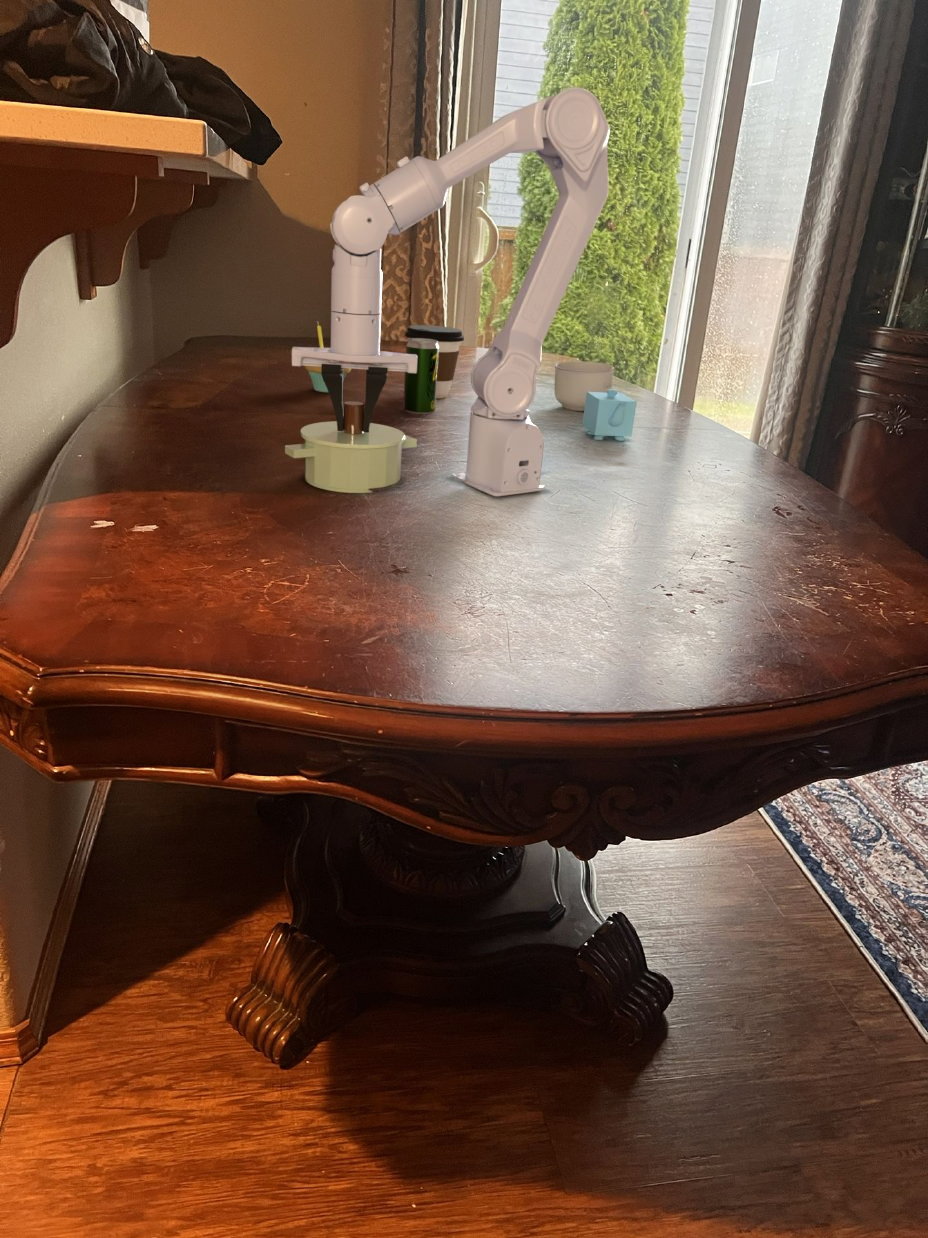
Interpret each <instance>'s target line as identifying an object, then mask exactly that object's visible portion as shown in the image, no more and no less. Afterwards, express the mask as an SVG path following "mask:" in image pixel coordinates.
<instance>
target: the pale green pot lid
mask: <svg viewBox="0 0 928 1238" xmlns="http://www.w3.org/2000/svg"><path fill="white" fill-rule="evenodd" d="M364 409H365V403H363V402H361V401H356V400H355V401H353V400H350V401H349V400H348V401H345V402H344V401H343V415H344V417H343V421H344V423H343V431H337V421H336V420H334V421H332V420H331V421H320V422H315V423H310V424H306V425H305V426H302V427H301V428H300V437H301V438H303V439H305V440H307V441H310V442H313V443H316V444H320V445H325V446H331V447H338V448H351V449H375V448H386V447H392V446H396V445H399V444H401V443H403V442H404V441H405V435H406V434H405V433H404V431H402V430H400V429H398V428H395V427H392V426H389V425H385V424H379V423H373V422H370V426H369V433H366V432H363V420H364Z"/></svg>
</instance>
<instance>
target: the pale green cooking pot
mask: <svg viewBox="0 0 928 1238" xmlns="http://www.w3.org/2000/svg"><path fill="white" fill-rule="evenodd" d="M303 439H304V438H303ZM417 443H418V440H417V439H416V438H415V437H412V436H410V435H406V434H405V441H404V442H403V443H401V444H399V445H396V446H392V447H386V448H375V449H351V448H338V447H331V446H325V445H320V444H316V443H313V442H310V441H307V440H305V439H304V442H303V443H297V444H286V445H284V454H285V455H287V456H289V457H290V458H293V459H302V458H303V459H304V465H303V467H304V469H303V471H304V481H305V482H306V483H307V484H309V485H311V486H313V487H315V488H318V489H322V490H326V491H330V492H336V493H337V492H338V493H346V494H347V493H348V494H370V493H371V494H372V493H373V490H371V489H378V488H386V487H388V486H391V485H395V484H397V483H398V482H399V481H400V480H401V474H402V473H401V472H402V451H403V450H402V449H412V448H417Z"/></svg>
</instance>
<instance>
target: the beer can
mask: <svg viewBox="0 0 928 1238" xmlns="http://www.w3.org/2000/svg"><path fill="white" fill-rule="evenodd" d="M437 343H438V341H437V340H433V339H425V338H407V343H406V345H405V354H416V355H417V357H418V358H417V373H408V372H404V385H403V406H402V407H403V411H404V412H407V413H410V414H411V413H412V414H420V415H427V414H428V415H429V414H434V413H435V412H436V402H437V398H436V386H437V369H438V352H439V347H438V344H437Z"/></svg>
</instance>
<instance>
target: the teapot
mask: <svg viewBox="0 0 928 1238" xmlns="http://www.w3.org/2000/svg"><path fill="white" fill-rule="evenodd" d="M637 403H638V402H637V401H636V400H634V399H633V398H631V397H630V396H628V395H626V394H625V393H621V392H618V390H617V389H614V388H612V389H607V393H604V392H587V394H586V401H585V409H584V411H583V418H582V427H583V428H585V429H586V430H587V432H586V434H587V435H592V436H594V437H593V440H597V441H603V440H604V436H606V437H608V436H609V437H614V439H615V440H616V441H619V442H623V441H625V438H624V437H630V438H631V437H632V436H633V429H634V422H635V416H636V409H637Z"/></svg>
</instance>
